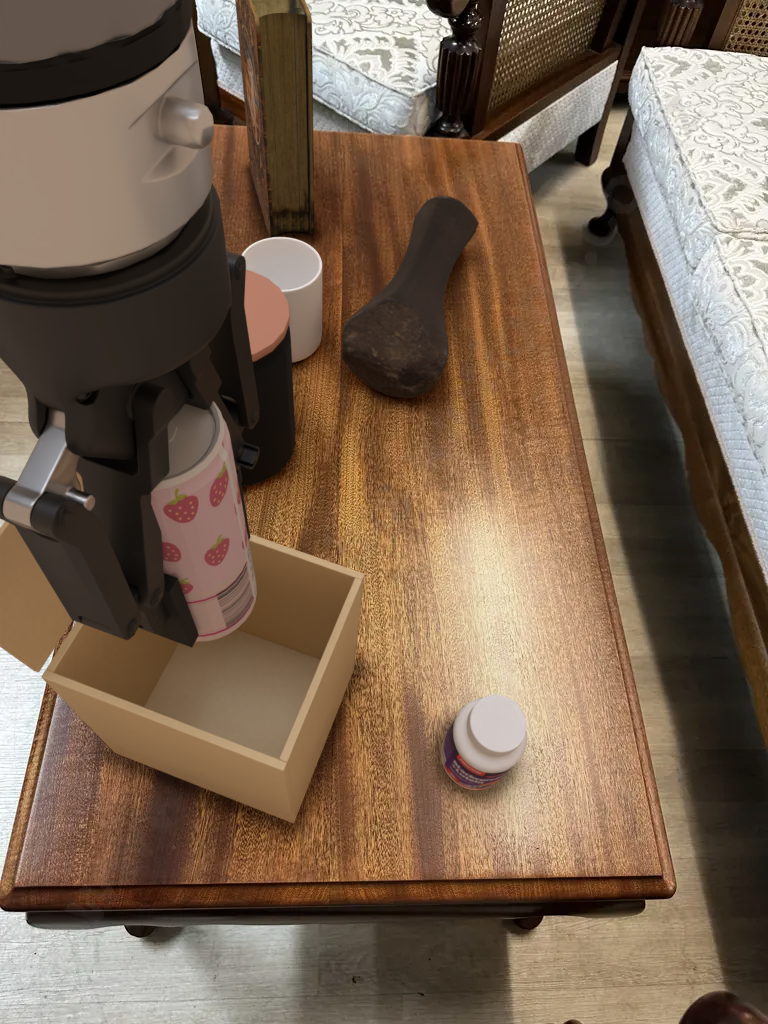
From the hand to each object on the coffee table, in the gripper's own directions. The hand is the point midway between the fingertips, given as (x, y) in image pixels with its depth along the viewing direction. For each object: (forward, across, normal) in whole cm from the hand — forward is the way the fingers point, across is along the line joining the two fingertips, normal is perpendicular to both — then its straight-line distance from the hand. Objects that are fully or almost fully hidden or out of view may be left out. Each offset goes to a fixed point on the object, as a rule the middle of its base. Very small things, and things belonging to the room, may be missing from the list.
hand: (199, 581), depth 39 cm
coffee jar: (+23, +24, +11) cm, 35 cm away
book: (+23, +62, +24) cm, 71 cm away
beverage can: (+2, 0, 0) cm, 2 cm away
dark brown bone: (+23, +49, +1) cm, 54 cm away
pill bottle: (+23, +3, -19) cm, 30 cm away
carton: (+23, 0, 0) cm, 23 cm away
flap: (+1, 0, +9) cm, 9 cm away
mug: (+23, +39, +15) cm, 48 cm away
